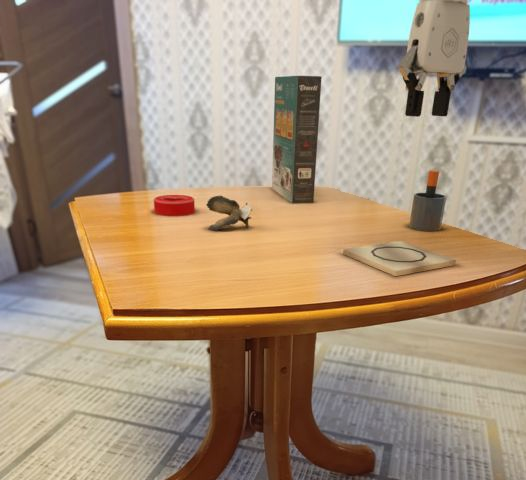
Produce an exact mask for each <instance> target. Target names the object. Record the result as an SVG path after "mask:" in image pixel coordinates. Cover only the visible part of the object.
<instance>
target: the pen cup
mask: <svg viewBox="0 0 526 480" xmlns="http://www.w3.org/2000/svg"><path fill="white" fill-rule="evenodd" d="M425 194H426V192H415V193H413V199H412V205H411V211H410V219H409V224H408V226H409V228H410V229H413V230H416V231H422V232H437V231H440V230H441V229H442V224H443V219H444V213H445V208H446V203H447V195H444V194H440V193H436V192H435V198H426V197H425Z"/></svg>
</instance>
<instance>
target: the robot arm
mask: <svg viewBox="0 0 526 480" xmlns="http://www.w3.org/2000/svg"><path fill="white" fill-rule="evenodd" d="M470 13H471V7H470V4H468V0H419V2H418V3H417V5H416V8H415V10H414V14H413V17H412V18H413V19H412V22H411V27H410V31H409V36H408V42H407V48H406V54H405V55H404V56H403V58H402V59H401V60H400V61H399V63H398V65H397V69H398V71H399V73H400V74H401V76H402V80H403V82H404V84H405V90H406V91H407V95H406V96H407V97H406V104H405V112H404V116H406V117H414V118H415V117H417V118H419V117H421V115H422V110H423V103H424V97H425V91H424V90H423V87H424V84H425V82H426V80H427V76H428V74H436V82H437V90H435V91H434V95H433V101H432V108H431V116H432V117H447V116H448V114H449V107H450V102H451V96H452V92H453V91H454V90H455V87H456V85H457V84H458V82H459V81H460V79H461V78H462V76H463V75H464V74H465V72H466V71H467V66H466V59H467V53H468V46H469V37H470V36H469V35H470V24H471V14H470ZM445 78H446V79H445Z"/></svg>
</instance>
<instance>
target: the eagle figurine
mask: <svg viewBox="0 0 526 480" xmlns="http://www.w3.org/2000/svg"><path fill="white" fill-rule="evenodd" d="M240 206H241V205H240V204H239V203H238V201H236V200H235V199H230V198H227V197H226V196H223V195H215V196H212V197H210V198H209V199H208V200H207V203H206V207H207V208H208V209H209V211H211V212H214V213H217V214H221V215H222V214H223V215H228V216H226V217H222V218H220V219H218V220H217V221H215V223H214V224H211V225H210V226H209V227H207V230H212V231H218V230H220V229H223V228H225V227H227V226H231V225H235V224H238V223H239V222H242V223H243V225H245V227H247V228H249V227H250V225H249V220H251V219H252V217H251V216H250V215H251V212H252V211H253V209H252V208H251V206H250V205H248V202H246V203H245V205H244V206H243V207H241V208H240Z"/></svg>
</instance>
